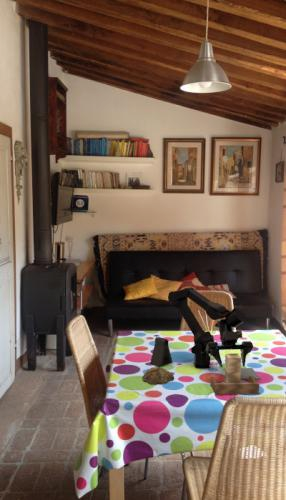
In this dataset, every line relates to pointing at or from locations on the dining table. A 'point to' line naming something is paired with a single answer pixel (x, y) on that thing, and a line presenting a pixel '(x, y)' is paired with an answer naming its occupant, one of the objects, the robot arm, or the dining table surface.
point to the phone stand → (161, 353)
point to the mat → (248, 373)
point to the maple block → (232, 368)
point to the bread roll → (157, 376)
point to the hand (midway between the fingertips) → (232, 366)
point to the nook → (235, 387)
